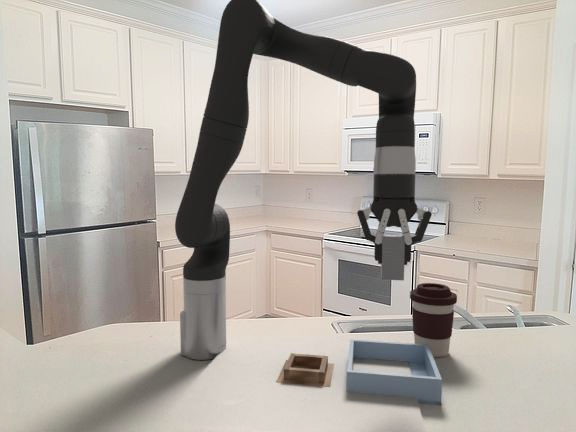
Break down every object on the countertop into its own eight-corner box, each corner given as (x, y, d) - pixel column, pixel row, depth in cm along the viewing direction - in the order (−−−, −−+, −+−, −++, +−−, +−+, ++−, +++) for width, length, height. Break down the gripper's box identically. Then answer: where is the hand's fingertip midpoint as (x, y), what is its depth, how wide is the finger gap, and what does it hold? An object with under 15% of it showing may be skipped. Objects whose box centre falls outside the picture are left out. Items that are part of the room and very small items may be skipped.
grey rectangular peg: (381, 279, 77) (382, 236, 77) (380, 275, 81) (381, 234, 81) (403, 280, 77) (404, 237, 76) (401, 275, 80) (402, 234, 80)
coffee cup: (400, 351, 94) (402, 286, 93) (420, 340, 101) (422, 279, 100) (444, 364, 87) (446, 294, 86) (462, 351, 94) (464, 285, 93)
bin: (346, 396, 74) (346, 371, 74) (349, 359, 90) (350, 339, 89) (441, 405, 71) (442, 379, 71) (427, 365, 87) (428, 344, 86)
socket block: (276, 387, 77) (276, 371, 77) (286, 364, 87) (286, 350, 87) (330, 392, 75) (330, 376, 75) (334, 368, 85) (334, 354, 85)
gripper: (355, 172, 75) (353, 266, 76) (437, 171, 73) (435, 269, 74) (356, 173, 82) (354, 259, 84) (431, 173, 80) (428, 261, 81)
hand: (392, 263), depth 79 cm, fingers closed on grey rectangular peg, 4 cm apart
